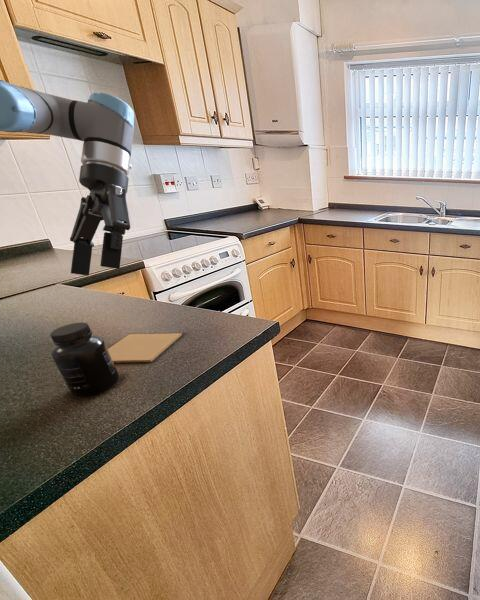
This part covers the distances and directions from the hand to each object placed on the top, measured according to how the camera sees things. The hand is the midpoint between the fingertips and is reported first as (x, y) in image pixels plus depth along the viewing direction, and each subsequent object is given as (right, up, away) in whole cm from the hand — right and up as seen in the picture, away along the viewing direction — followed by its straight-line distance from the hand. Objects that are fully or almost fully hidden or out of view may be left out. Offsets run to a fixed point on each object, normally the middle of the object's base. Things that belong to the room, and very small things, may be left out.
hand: (94, 271), depth 67 cm
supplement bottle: (+6, -22, -6) cm, 23 cm away
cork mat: (+4, -16, +6) cm, 18 cm away
